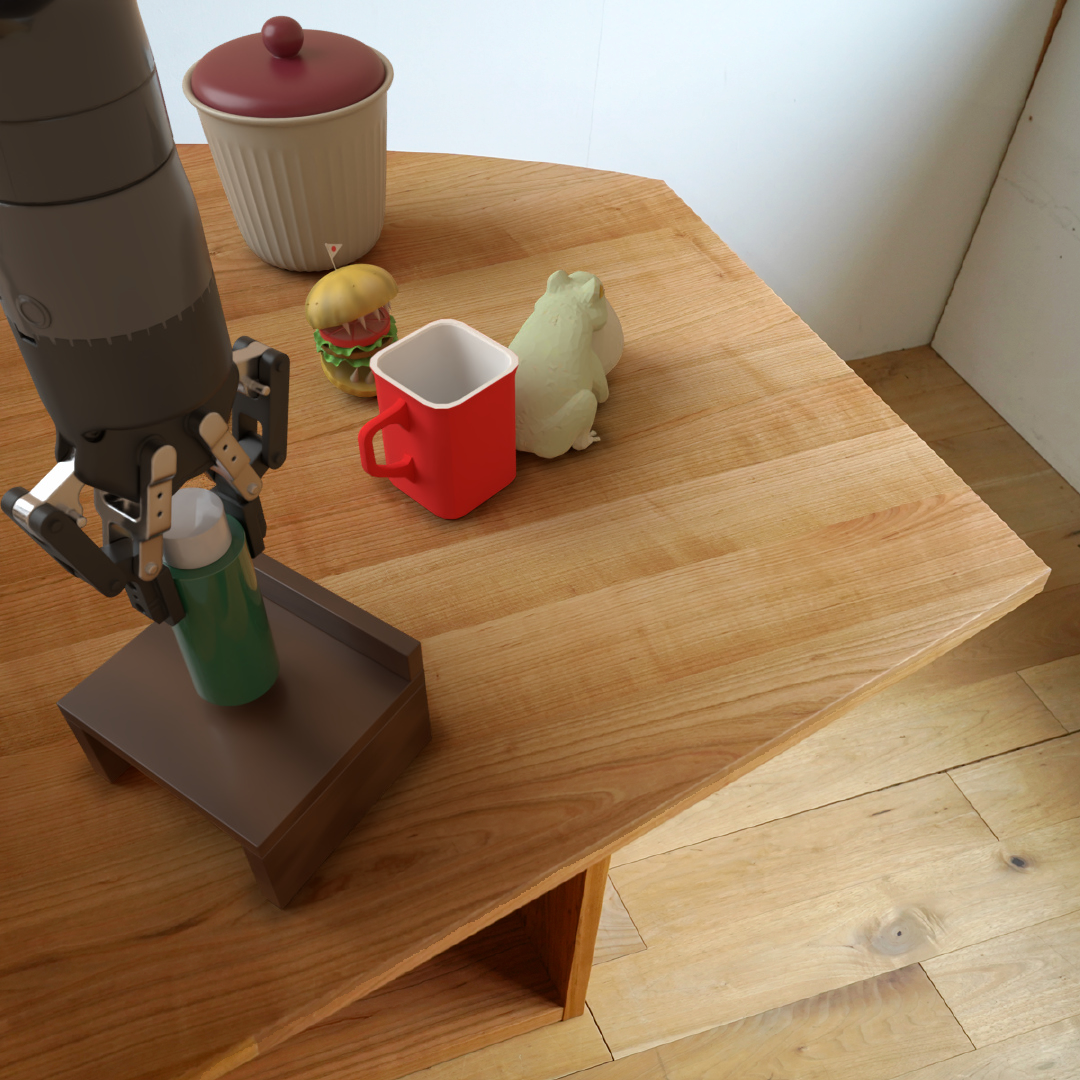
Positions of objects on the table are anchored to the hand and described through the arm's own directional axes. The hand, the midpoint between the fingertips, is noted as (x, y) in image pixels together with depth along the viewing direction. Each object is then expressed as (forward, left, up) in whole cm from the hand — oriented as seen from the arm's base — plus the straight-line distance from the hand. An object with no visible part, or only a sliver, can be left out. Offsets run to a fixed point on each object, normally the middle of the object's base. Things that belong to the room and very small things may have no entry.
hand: (206, 579), depth 50 cm
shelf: (0, 0, -16) cm, 16 cm away
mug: (+24, +6, -16) cm, 29 cm away
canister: (+45, +37, -16) cm, 60 cm away
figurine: (+38, +4, -16) cm, 41 cm away
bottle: (0, 0, -7) cm, 7 cm away
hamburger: (+31, +19, -16) cm, 40 cm away
